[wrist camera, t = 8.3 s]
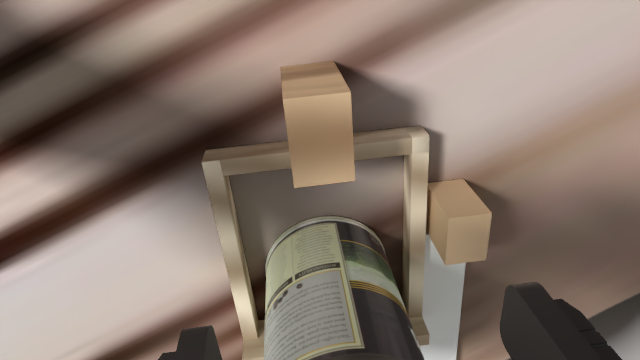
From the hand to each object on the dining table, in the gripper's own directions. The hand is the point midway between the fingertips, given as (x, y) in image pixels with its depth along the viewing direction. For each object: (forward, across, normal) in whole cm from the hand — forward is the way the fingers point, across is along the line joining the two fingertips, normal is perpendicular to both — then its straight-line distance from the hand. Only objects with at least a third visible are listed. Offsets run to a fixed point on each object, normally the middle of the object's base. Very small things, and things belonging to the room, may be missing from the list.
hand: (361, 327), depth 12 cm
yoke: (+20, 0, +9) cm, 22 cm away
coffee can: (+20, 0, +14) cm, 25 cm away
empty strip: (+20, -10, +19) cm, 29 cm away
